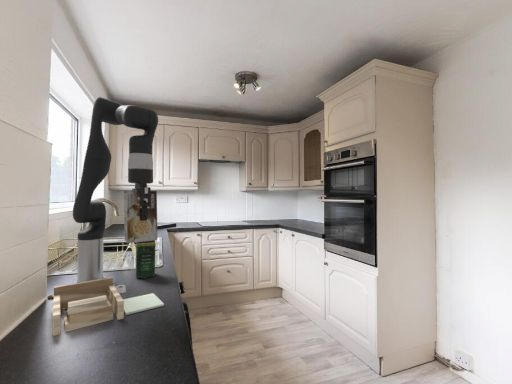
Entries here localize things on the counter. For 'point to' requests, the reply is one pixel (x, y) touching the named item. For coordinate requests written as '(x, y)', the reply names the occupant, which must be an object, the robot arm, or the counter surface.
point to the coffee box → (132, 222)
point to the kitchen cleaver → (119, 288)
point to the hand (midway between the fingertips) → (140, 219)
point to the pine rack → (85, 297)
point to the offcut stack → (87, 312)
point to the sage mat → (141, 303)
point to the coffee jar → (145, 259)
